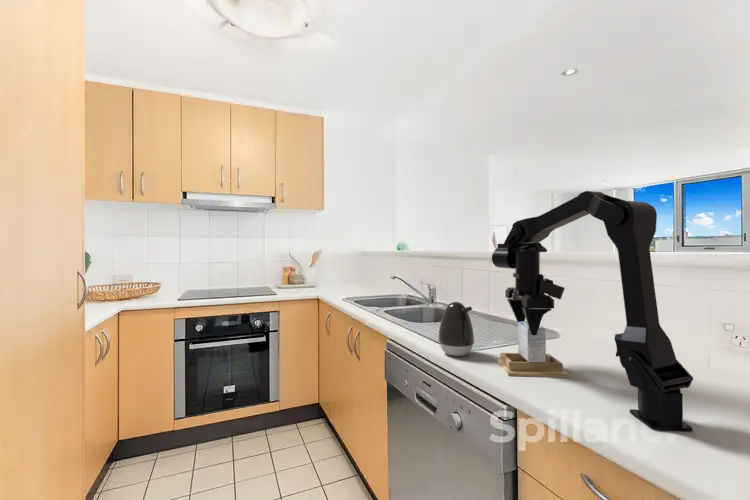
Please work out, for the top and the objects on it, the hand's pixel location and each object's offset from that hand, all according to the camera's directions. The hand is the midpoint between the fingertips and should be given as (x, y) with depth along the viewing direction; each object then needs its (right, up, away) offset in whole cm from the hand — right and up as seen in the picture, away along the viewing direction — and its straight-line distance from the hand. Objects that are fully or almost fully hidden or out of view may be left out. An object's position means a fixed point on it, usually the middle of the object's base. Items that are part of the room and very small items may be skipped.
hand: (527, 330), depth 91 cm
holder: (+1, -10, 0) cm, 10 cm away
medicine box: (+1, -7, 0) cm, 7 cm away
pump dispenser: (-15, -10, +12) cm, 22 cm away
